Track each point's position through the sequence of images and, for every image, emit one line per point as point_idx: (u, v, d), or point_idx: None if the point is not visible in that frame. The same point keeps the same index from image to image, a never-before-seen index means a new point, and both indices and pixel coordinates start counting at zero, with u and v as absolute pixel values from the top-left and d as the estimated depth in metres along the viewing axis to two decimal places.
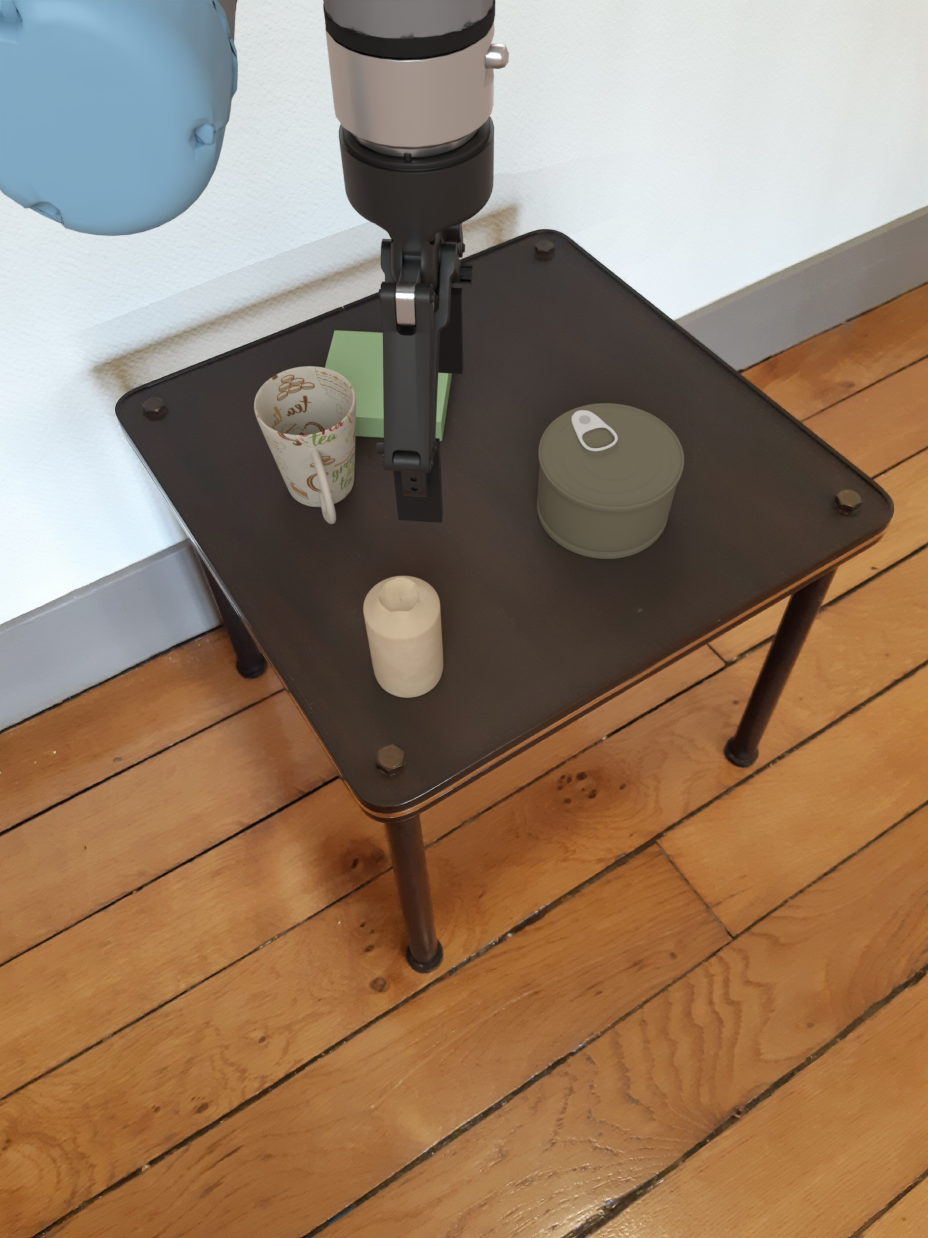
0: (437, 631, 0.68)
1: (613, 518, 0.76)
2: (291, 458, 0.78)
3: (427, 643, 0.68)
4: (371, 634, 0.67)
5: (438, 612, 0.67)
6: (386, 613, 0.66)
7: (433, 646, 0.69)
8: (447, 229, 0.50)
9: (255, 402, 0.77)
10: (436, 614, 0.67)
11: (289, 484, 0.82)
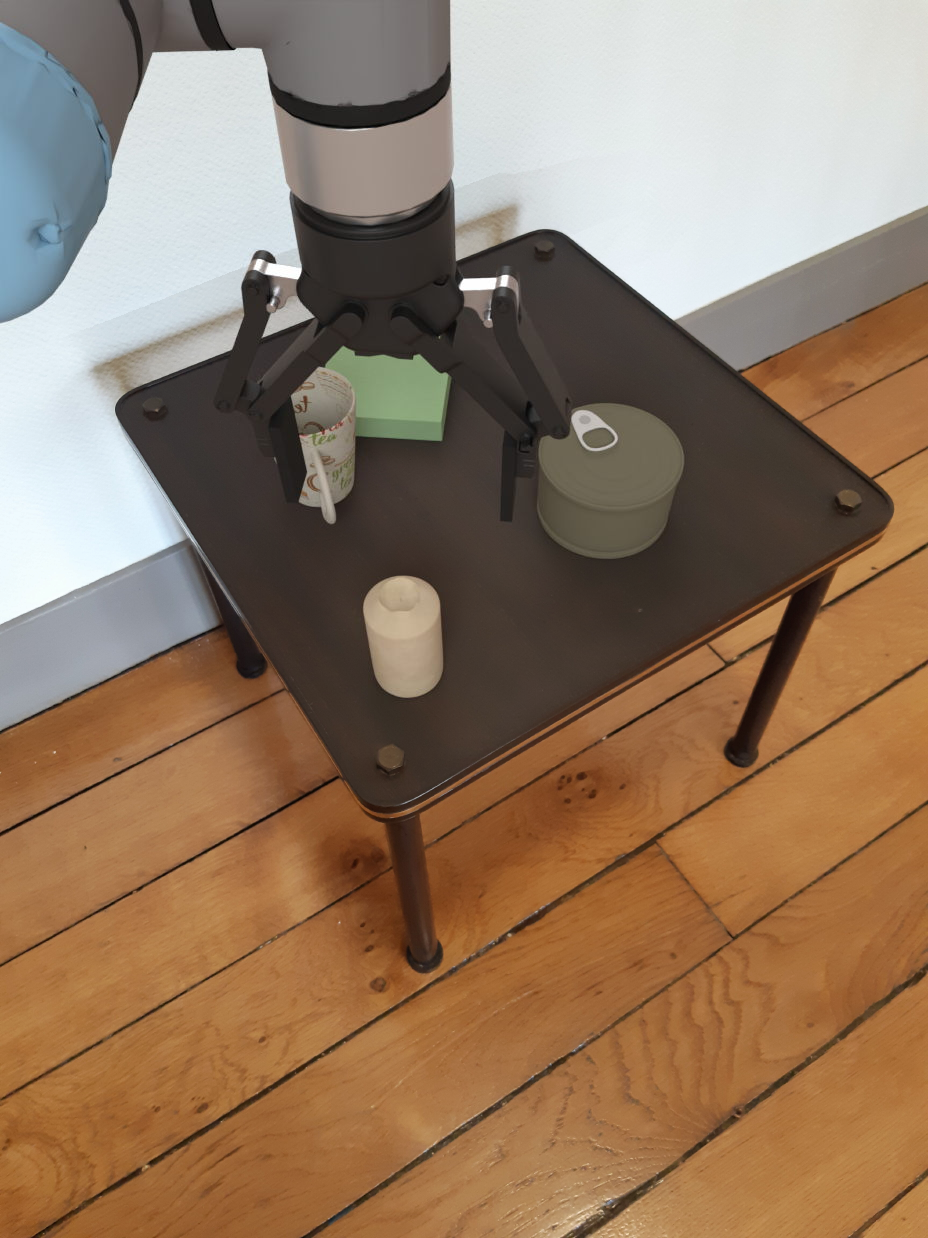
0: (437, 631, 0.68)
1: (613, 518, 0.76)
2: None
3: (427, 643, 0.68)
4: (371, 634, 0.67)
5: (438, 612, 0.67)
6: (386, 613, 0.66)
7: (433, 646, 0.69)
8: None
9: None
10: (436, 614, 0.67)
11: None
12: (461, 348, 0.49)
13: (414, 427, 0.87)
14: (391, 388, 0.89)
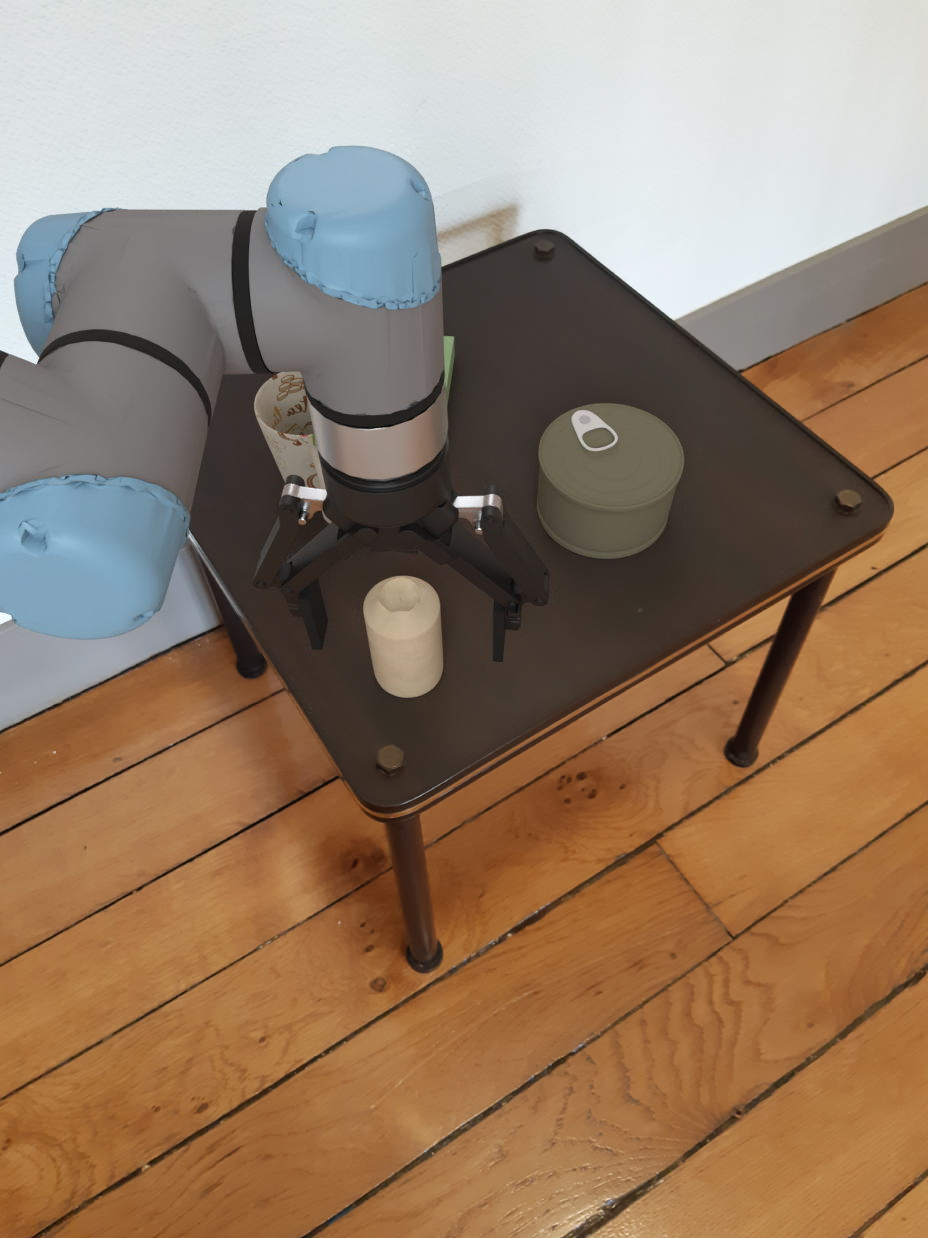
0: (437, 631, 0.68)
1: (613, 518, 0.76)
2: (291, 458, 0.78)
3: (427, 644, 0.68)
4: (371, 634, 0.67)
5: (438, 612, 0.67)
6: (386, 613, 0.66)
7: (433, 646, 0.69)
8: None
9: (255, 402, 0.77)
10: (436, 614, 0.67)
11: None
12: (457, 544, 0.60)
13: None
14: None
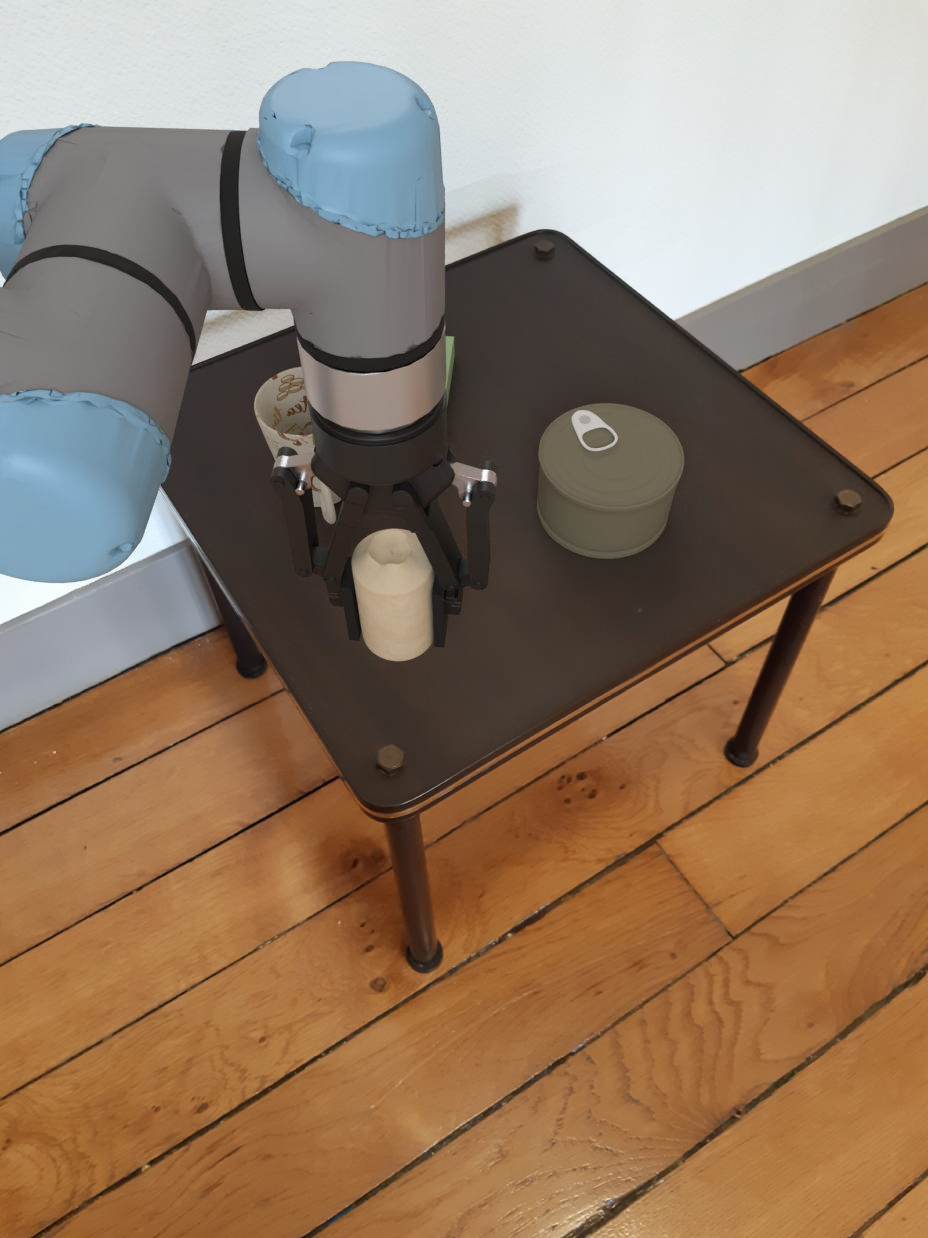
0: (430, 587, 0.64)
1: (613, 518, 0.76)
2: None
3: (420, 600, 0.63)
4: (359, 589, 0.63)
5: None
6: (376, 566, 0.61)
7: (426, 604, 0.64)
8: None
9: (255, 402, 0.77)
10: (430, 569, 0.62)
11: None
12: (432, 516, 0.58)
13: None
14: None
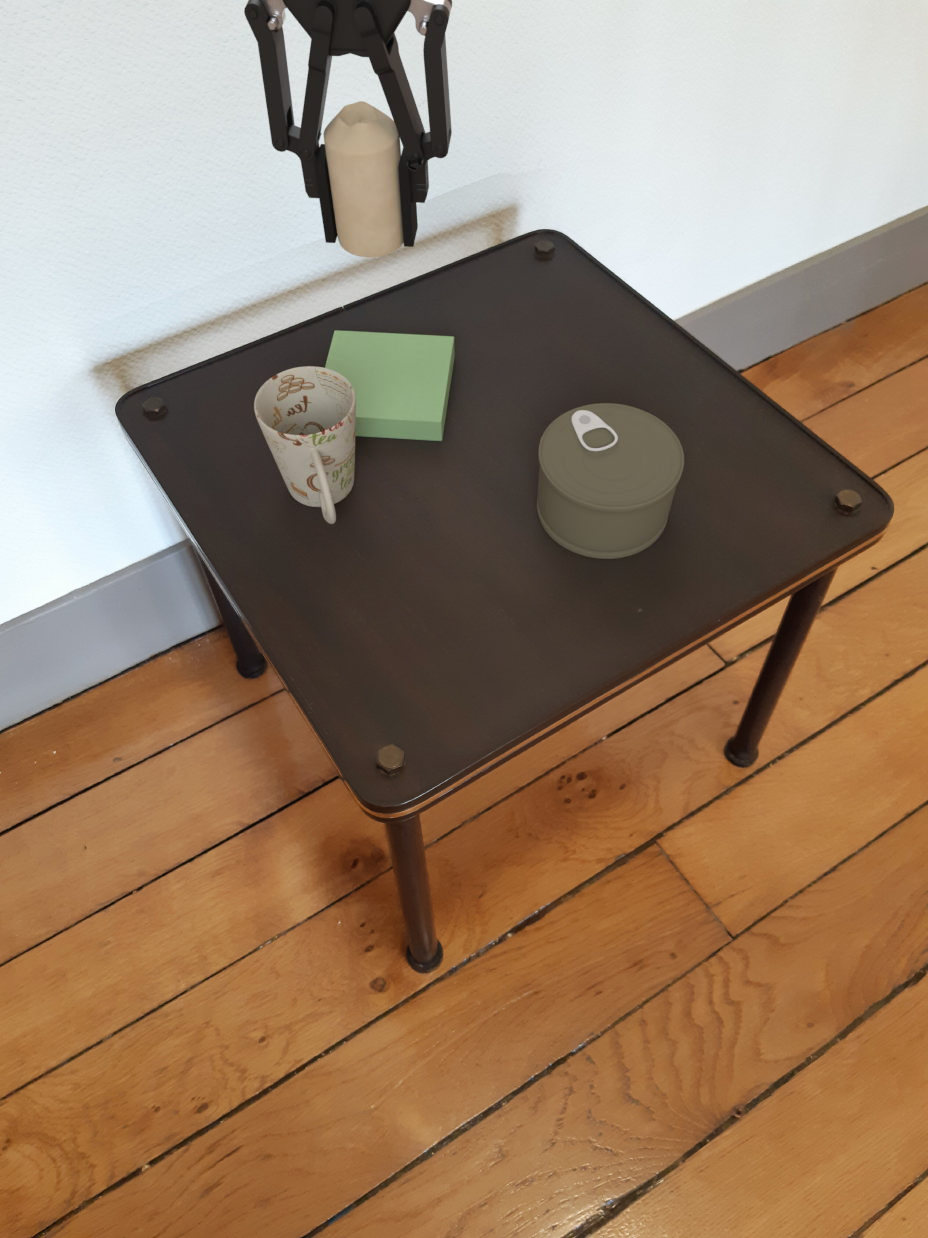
0: (397, 161, 0.69)
1: (613, 518, 0.76)
2: (291, 458, 0.78)
3: (387, 171, 0.69)
4: (331, 159, 0.68)
5: (397, 135, 0.68)
6: (345, 127, 0.67)
7: (393, 180, 0.70)
8: None
9: (255, 402, 0.77)
10: (395, 136, 0.68)
11: (289, 484, 0.82)
12: (394, 60, 0.64)
13: (414, 427, 0.87)
14: (391, 388, 0.89)
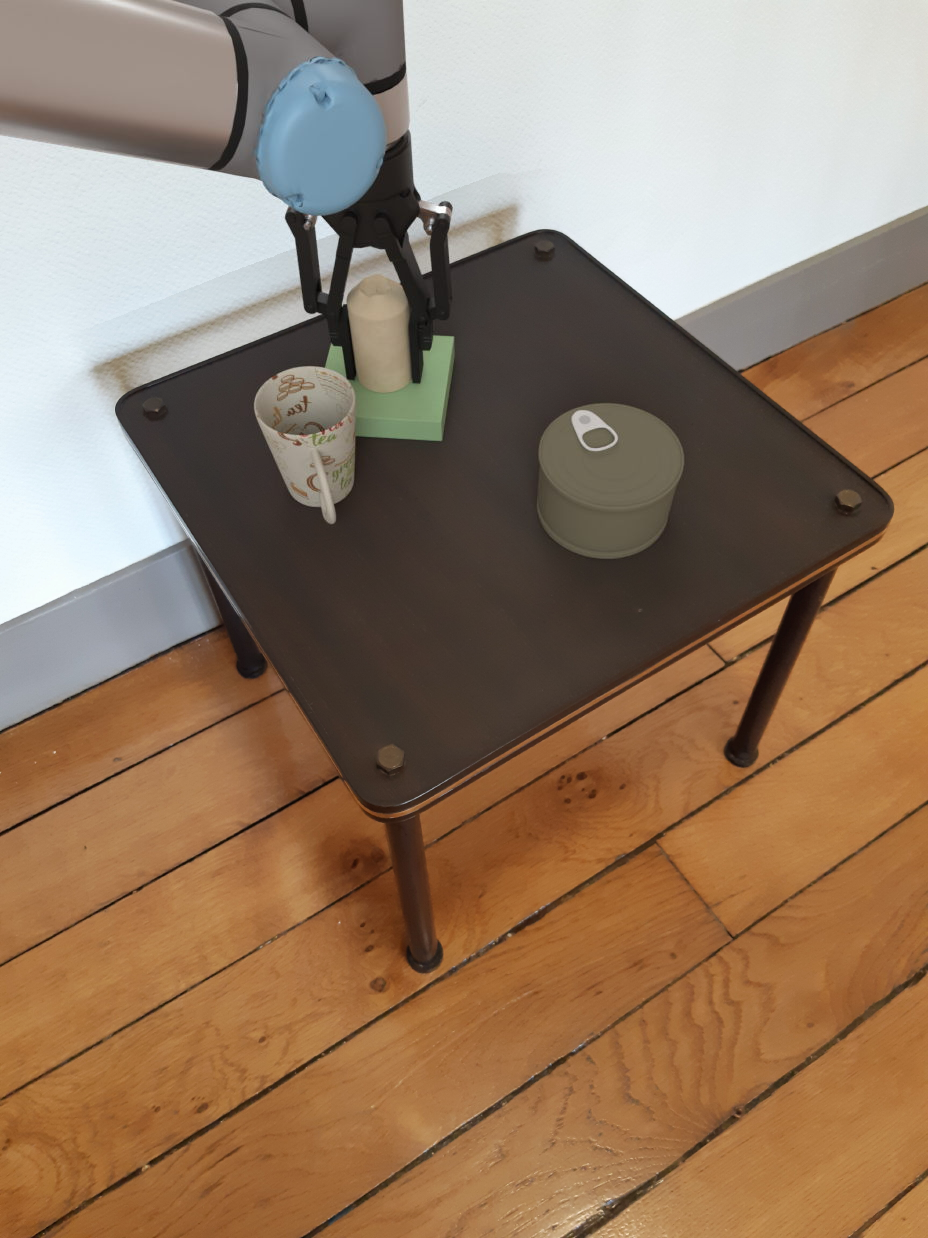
0: (407, 321, 0.84)
1: (613, 518, 0.76)
2: (291, 458, 0.78)
3: (399, 330, 0.83)
4: (353, 321, 0.83)
5: (407, 302, 0.83)
6: (364, 298, 0.81)
7: (404, 335, 0.84)
8: None
9: (255, 402, 0.77)
10: (406, 303, 0.82)
11: (289, 484, 0.82)
12: (405, 250, 0.78)
13: (414, 427, 0.87)
14: None
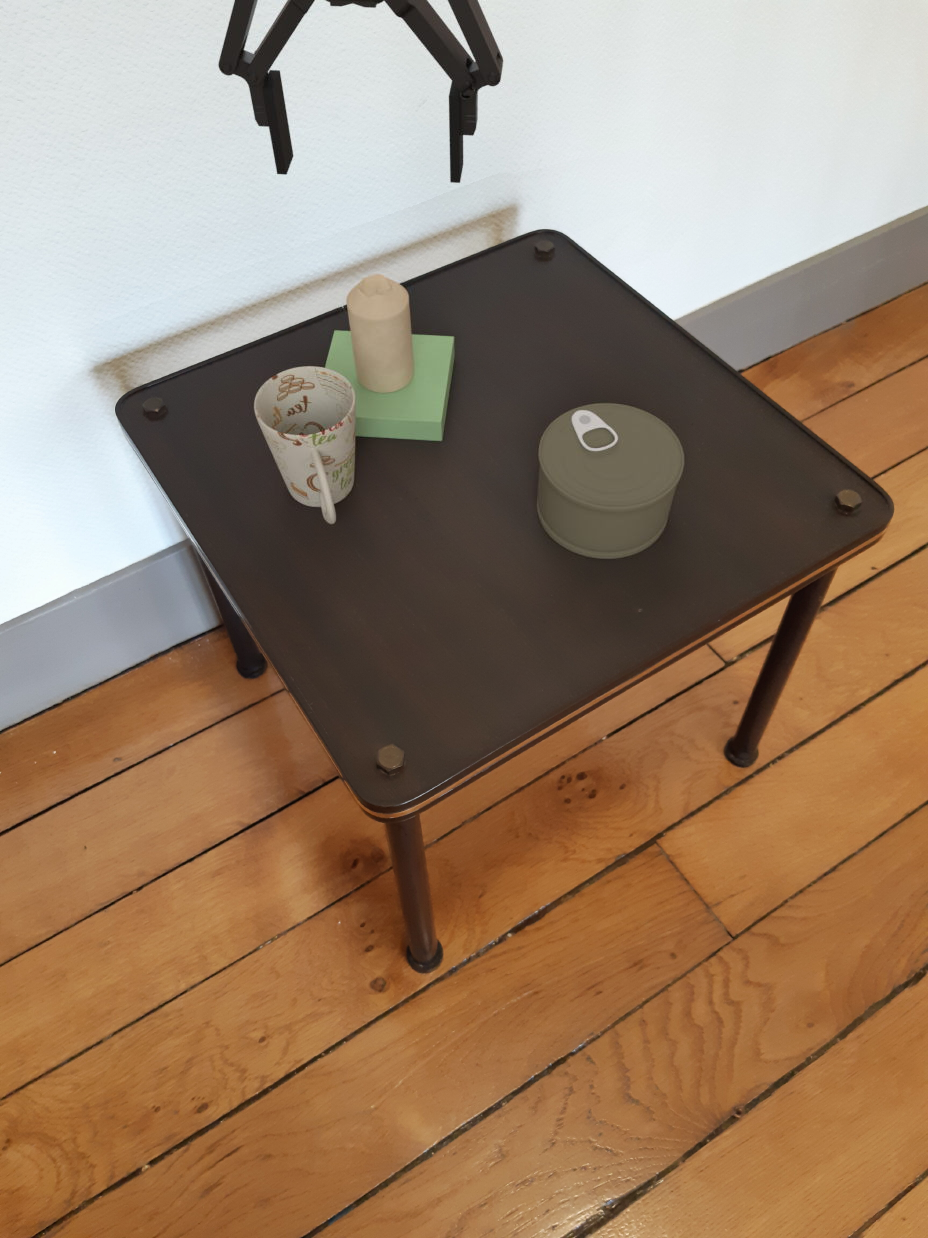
0: (407, 321, 0.84)
1: (613, 518, 0.76)
2: (291, 458, 0.78)
3: (399, 330, 0.83)
4: (353, 321, 0.83)
5: (407, 302, 0.83)
6: (364, 298, 0.81)
7: (403, 335, 0.84)
8: None
9: (255, 402, 0.77)
10: (406, 303, 0.82)
11: (289, 484, 0.82)
12: None
13: (414, 427, 0.87)
14: None
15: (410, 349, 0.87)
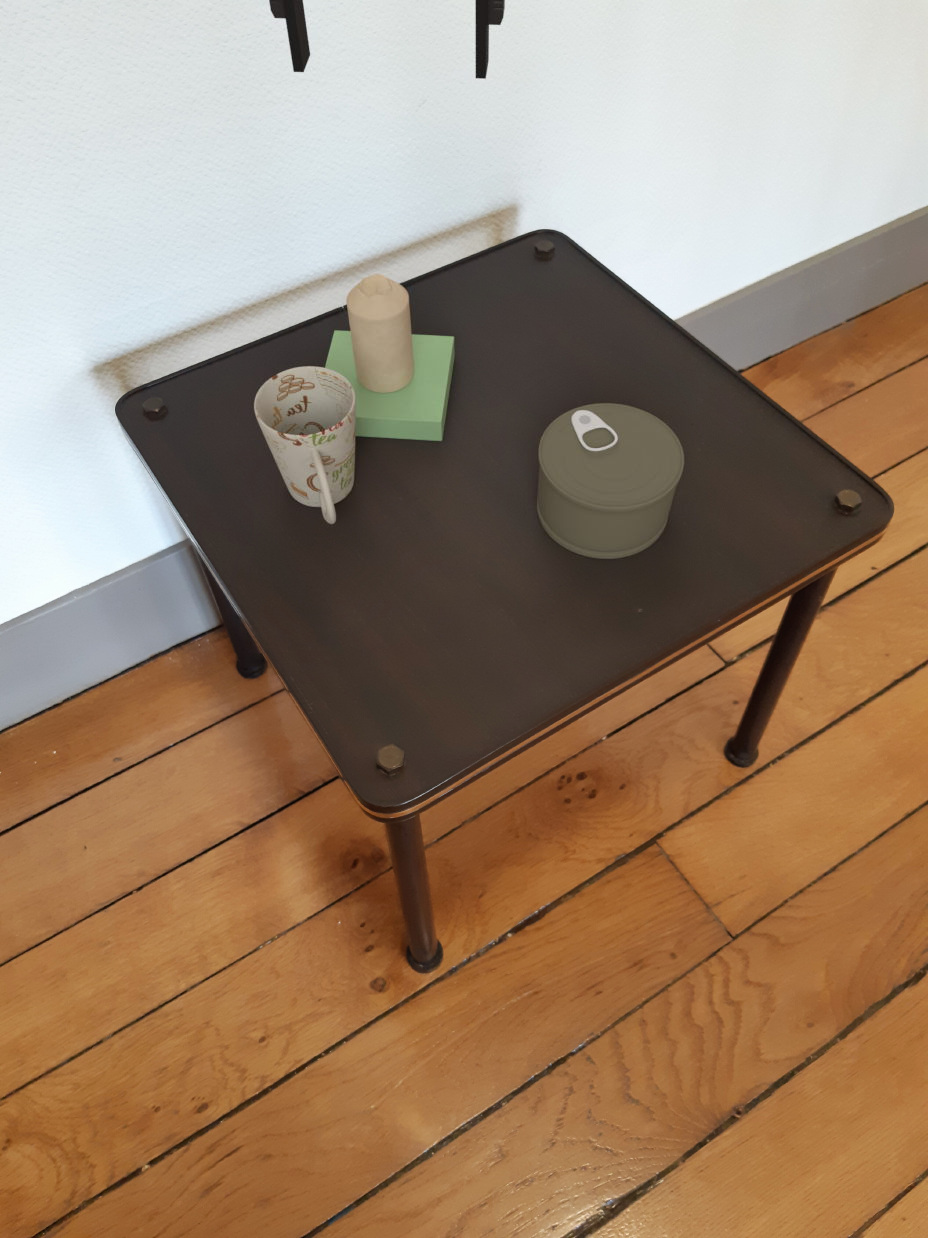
0: (407, 321, 0.84)
1: (613, 518, 0.76)
2: (291, 458, 0.78)
3: (399, 330, 0.83)
4: (353, 321, 0.83)
5: (407, 302, 0.83)
6: (364, 298, 0.81)
7: (403, 335, 0.84)
8: None
9: (255, 402, 0.77)
10: (406, 303, 0.82)
11: (289, 484, 0.82)
12: None
13: (414, 427, 0.87)
14: None
15: (410, 349, 0.87)
